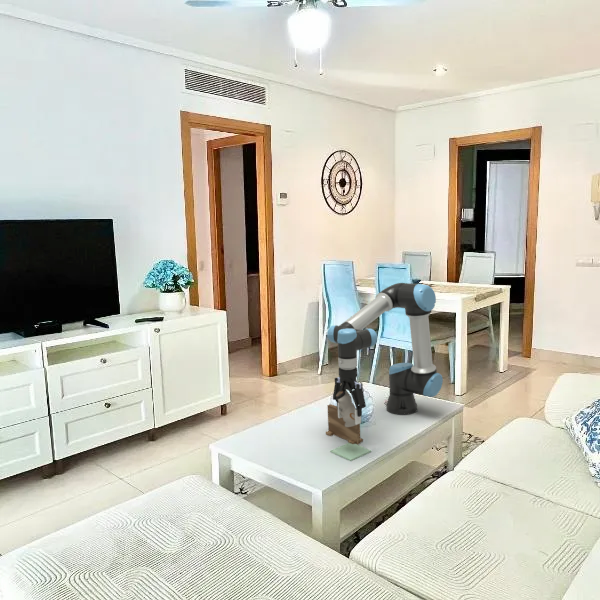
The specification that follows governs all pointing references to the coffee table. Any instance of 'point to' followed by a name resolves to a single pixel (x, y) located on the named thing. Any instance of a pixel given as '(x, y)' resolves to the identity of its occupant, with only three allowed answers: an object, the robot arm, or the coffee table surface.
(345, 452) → the pad
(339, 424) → the screen
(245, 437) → the coffee table surface
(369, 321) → the robot arm
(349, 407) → the figurine
